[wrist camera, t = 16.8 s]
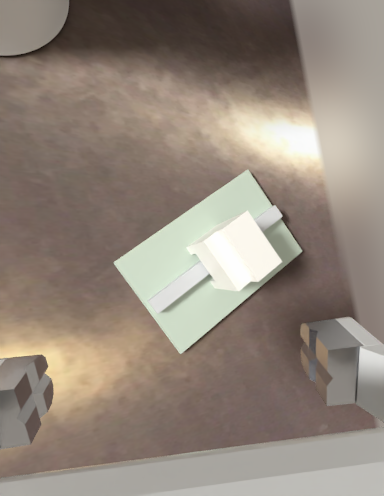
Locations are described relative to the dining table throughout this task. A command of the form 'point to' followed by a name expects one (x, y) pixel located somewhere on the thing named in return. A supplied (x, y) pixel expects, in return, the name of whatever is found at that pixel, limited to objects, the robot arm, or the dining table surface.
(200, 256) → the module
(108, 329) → the dining table surface
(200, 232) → the rail board
